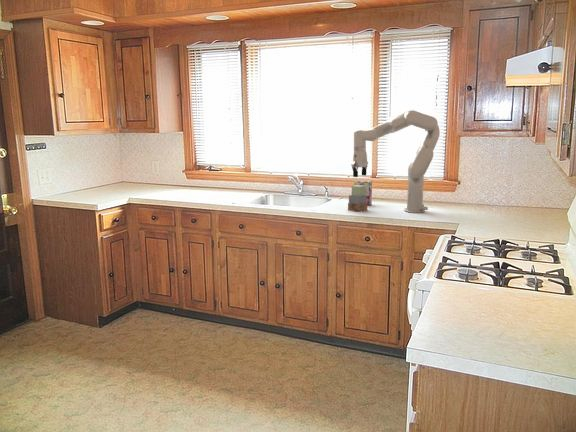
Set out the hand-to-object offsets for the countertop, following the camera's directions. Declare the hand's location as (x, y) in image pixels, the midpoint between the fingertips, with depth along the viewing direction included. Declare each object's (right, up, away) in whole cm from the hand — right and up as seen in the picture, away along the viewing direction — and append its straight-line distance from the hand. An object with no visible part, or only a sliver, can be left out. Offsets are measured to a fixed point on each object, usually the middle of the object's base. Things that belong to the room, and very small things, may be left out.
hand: (359, 176), depth 325 cm
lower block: (-1, -22, +4) cm, 22 cm away
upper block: (-1, -17, +3) cm, 17 cm away
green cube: (-1, -12, +2) cm, 12 cm away
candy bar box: (+6, -18, +24) cm, 31 cm away
